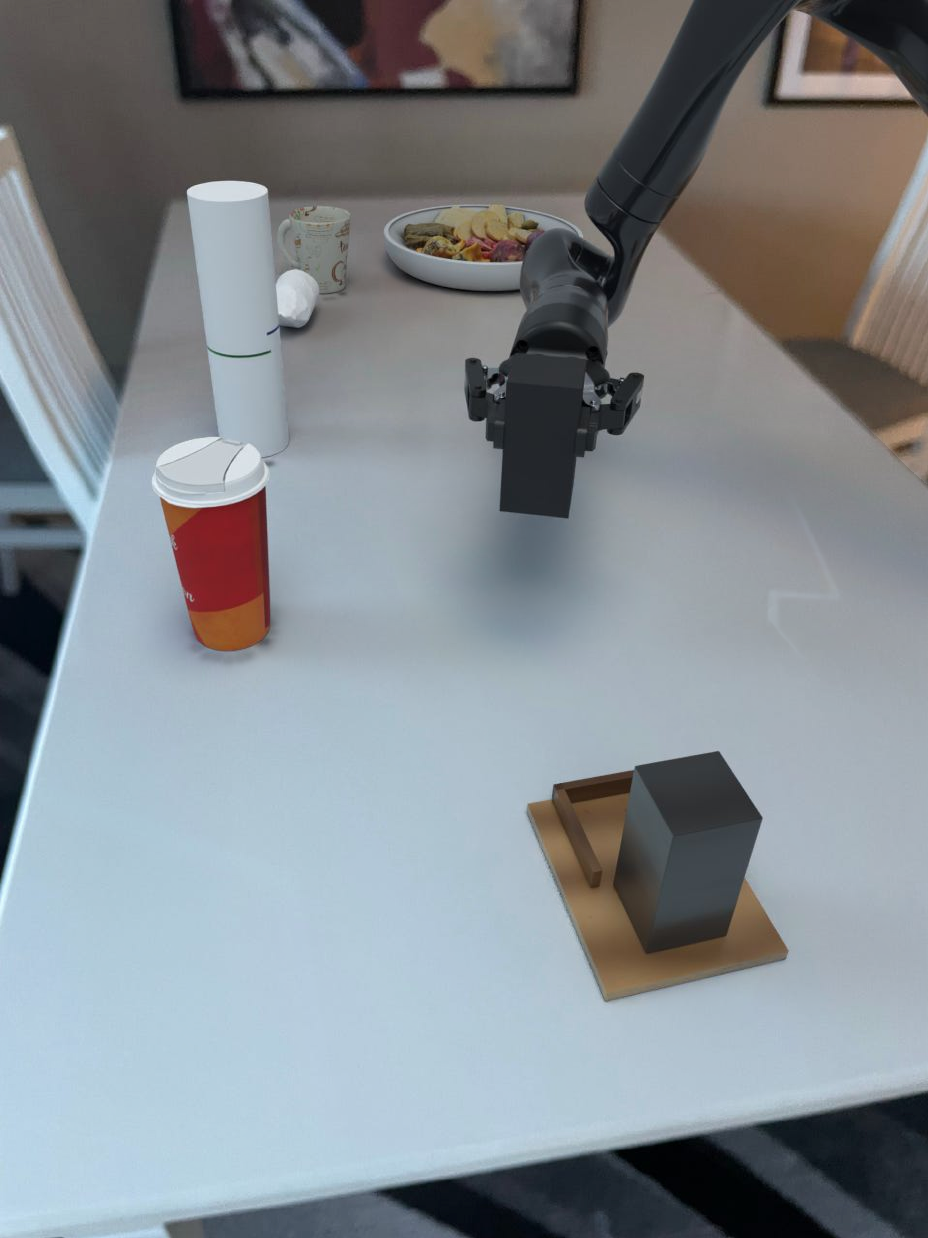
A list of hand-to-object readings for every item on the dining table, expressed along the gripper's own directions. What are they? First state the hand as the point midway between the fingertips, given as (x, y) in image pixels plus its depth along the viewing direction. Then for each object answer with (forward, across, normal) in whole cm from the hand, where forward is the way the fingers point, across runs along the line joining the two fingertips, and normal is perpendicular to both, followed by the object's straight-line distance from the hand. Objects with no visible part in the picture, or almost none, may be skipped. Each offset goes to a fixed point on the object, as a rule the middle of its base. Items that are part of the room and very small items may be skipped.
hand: (539, 440), depth 68 cm
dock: (+21, +10, +18) cm, 30 cm away
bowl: (-92, -17, +18) cm, 95 cm away
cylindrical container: (-28, -32, +18) cm, 46 cm away
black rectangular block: (-3, 0, +6) cm, 7 cm away
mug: (-77, -40, +18) cm, 89 cm away
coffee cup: (+3, -23, +18) cm, 29 cm away
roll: (-61, -38, +18) cm, 74 cm away
